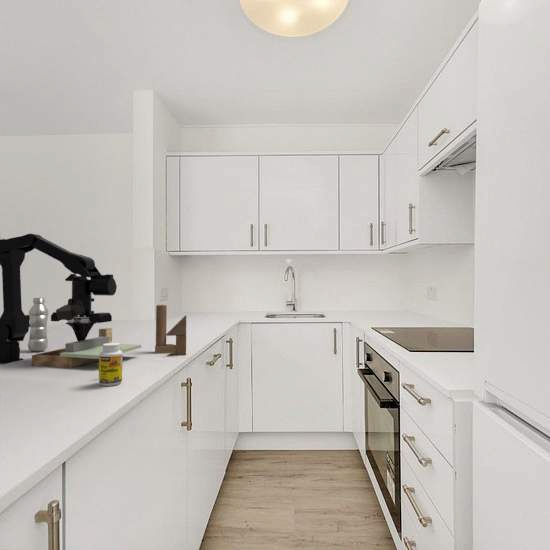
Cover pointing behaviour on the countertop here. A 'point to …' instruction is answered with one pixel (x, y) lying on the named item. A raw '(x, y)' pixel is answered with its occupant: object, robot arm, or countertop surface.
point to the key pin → (106, 333)
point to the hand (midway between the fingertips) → (80, 343)
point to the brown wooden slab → (58, 360)
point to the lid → (92, 348)
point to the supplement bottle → (110, 365)
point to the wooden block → (169, 334)
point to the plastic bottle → (38, 326)
